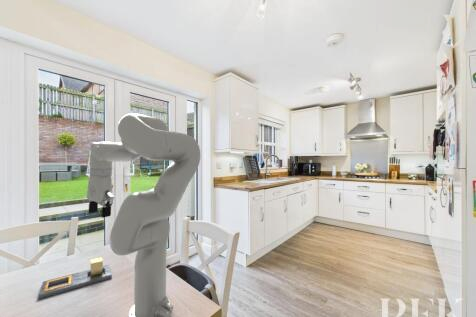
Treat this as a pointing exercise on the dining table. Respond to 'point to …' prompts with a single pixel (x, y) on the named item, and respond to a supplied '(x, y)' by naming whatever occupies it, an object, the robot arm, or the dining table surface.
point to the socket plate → (72, 282)
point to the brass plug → (96, 267)
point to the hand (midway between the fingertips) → (99, 214)
